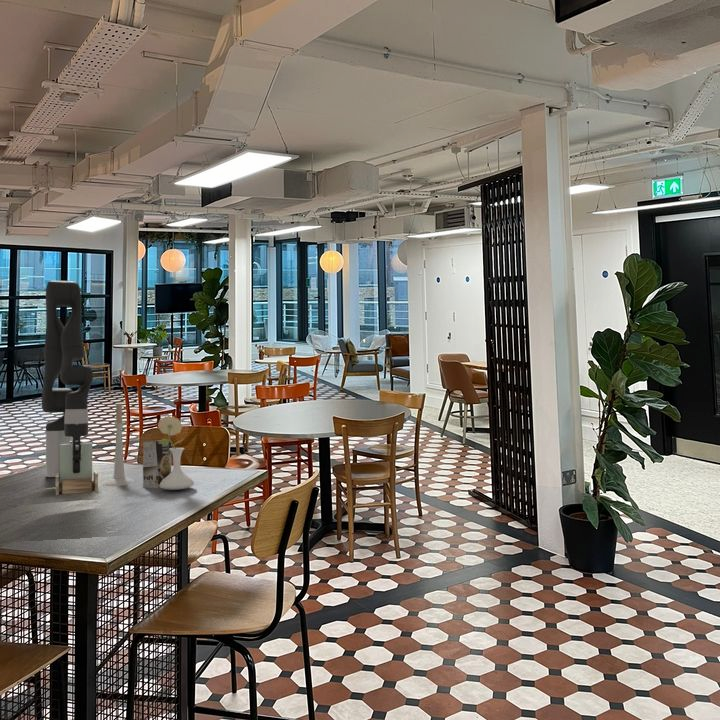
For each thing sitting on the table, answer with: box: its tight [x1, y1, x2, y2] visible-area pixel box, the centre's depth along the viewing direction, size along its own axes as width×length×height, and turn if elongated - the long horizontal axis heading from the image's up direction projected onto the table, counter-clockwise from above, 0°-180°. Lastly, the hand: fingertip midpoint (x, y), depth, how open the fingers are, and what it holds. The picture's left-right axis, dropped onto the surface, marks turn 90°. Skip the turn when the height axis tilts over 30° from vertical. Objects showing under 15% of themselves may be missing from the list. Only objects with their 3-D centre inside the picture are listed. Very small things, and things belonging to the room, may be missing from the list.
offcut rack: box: [55, 470, 99, 496], centre depth 213 cm, size 10×13×6 cm
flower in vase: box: [157, 415, 195, 491], centre depth 213 cm, size 13×11×25 cm
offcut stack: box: [61, 477, 93, 495], centre depth 211 cm, size 4×9×4 cm, turn 116°
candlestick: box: [101, 403, 136, 487], centre depth 227 cm, size 13×13×30 cm
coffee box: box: [142, 439, 172, 489], centre depth 222 cm, size 9×6×16 cm
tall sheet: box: [59, 442, 93, 485], centre depth 216 cm, size 3×10×16 cm, turn 116°
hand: (76, 472), depth 216 cm, fingers closed on tall sheet, 3 cm apart
